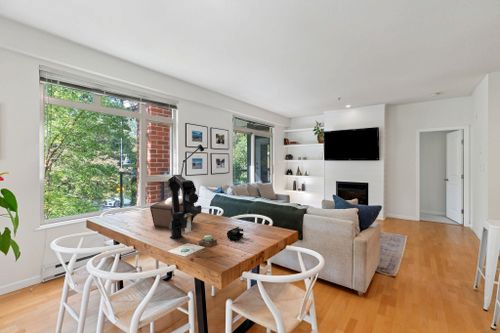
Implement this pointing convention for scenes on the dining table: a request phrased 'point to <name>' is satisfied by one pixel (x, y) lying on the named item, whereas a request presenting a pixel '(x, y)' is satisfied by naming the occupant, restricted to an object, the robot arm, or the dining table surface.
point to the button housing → (208, 244)
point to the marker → (188, 224)
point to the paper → (186, 249)
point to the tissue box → (163, 212)
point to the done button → (208, 238)
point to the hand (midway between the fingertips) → (187, 227)
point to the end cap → (235, 234)
